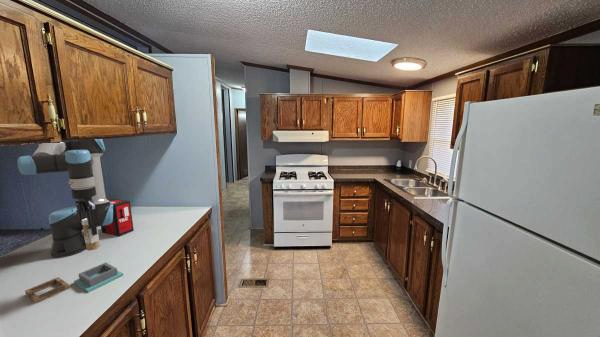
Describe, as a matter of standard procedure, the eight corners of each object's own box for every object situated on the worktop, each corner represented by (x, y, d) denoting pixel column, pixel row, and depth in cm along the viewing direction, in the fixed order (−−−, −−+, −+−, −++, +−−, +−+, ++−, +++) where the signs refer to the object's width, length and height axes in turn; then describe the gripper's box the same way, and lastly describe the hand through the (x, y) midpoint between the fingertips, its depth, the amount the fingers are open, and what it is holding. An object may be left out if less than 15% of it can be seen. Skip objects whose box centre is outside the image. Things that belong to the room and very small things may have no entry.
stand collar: (25, 295, 98) (24, 290, 97) (59, 281, 106) (58, 277, 106) (35, 303, 93) (34, 298, 93) (69, 288, 102) (68, 283, 101)
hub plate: (74, 283, 105) (72, 274, 104) (108, 267, 116) (107, 260, 115) (88, 292, 99) (86, 283, 98) (123, 275, 110) (122, 267, 109)
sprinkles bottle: (86, 252, 101) (81, 221, 99) (85, 248, 105) (80, 218, 102) (100, 248, 105) (96, 218, 102) (99, 244, 108) (94, 215, 105)
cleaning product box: (101, 232, 154) (97, 202, 151) (116, 227, 163) (112, 198, 159) (119, 236, 149) (115, 205, 145) (133, 230, 157) (129, 201, 153)
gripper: (62, 187, 101) (72, 239, 105) (81, 192, 93) (91, 249, 97) (84, 183, 107) (93, 232, 111) (104, 188, 99) (112, 241, 103)
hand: (92, 240), depth 104 cm, fingers closed on sprinkles bottle, 4 cm apart
